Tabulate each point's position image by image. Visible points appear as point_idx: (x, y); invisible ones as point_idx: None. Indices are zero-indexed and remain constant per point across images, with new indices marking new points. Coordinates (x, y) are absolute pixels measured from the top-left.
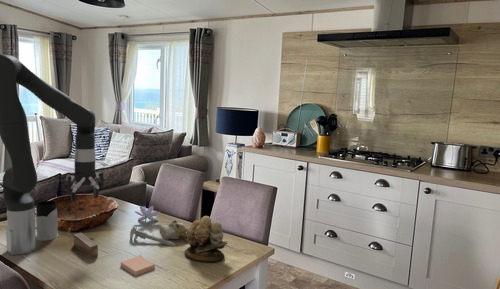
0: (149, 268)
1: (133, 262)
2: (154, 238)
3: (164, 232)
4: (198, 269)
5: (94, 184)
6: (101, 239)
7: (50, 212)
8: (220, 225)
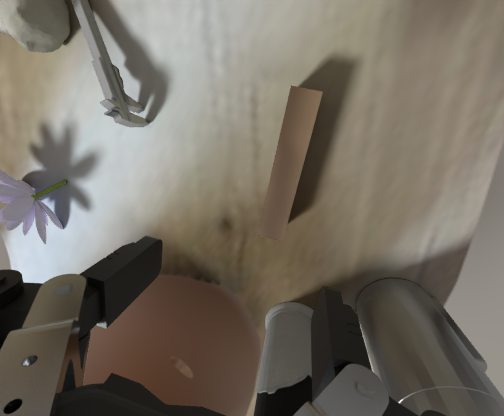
0: None
1: None
2: (91, 23)
3: None
4: None
5: (55, 331)
6: (208, 198)
7: (295, 384)
8: None
